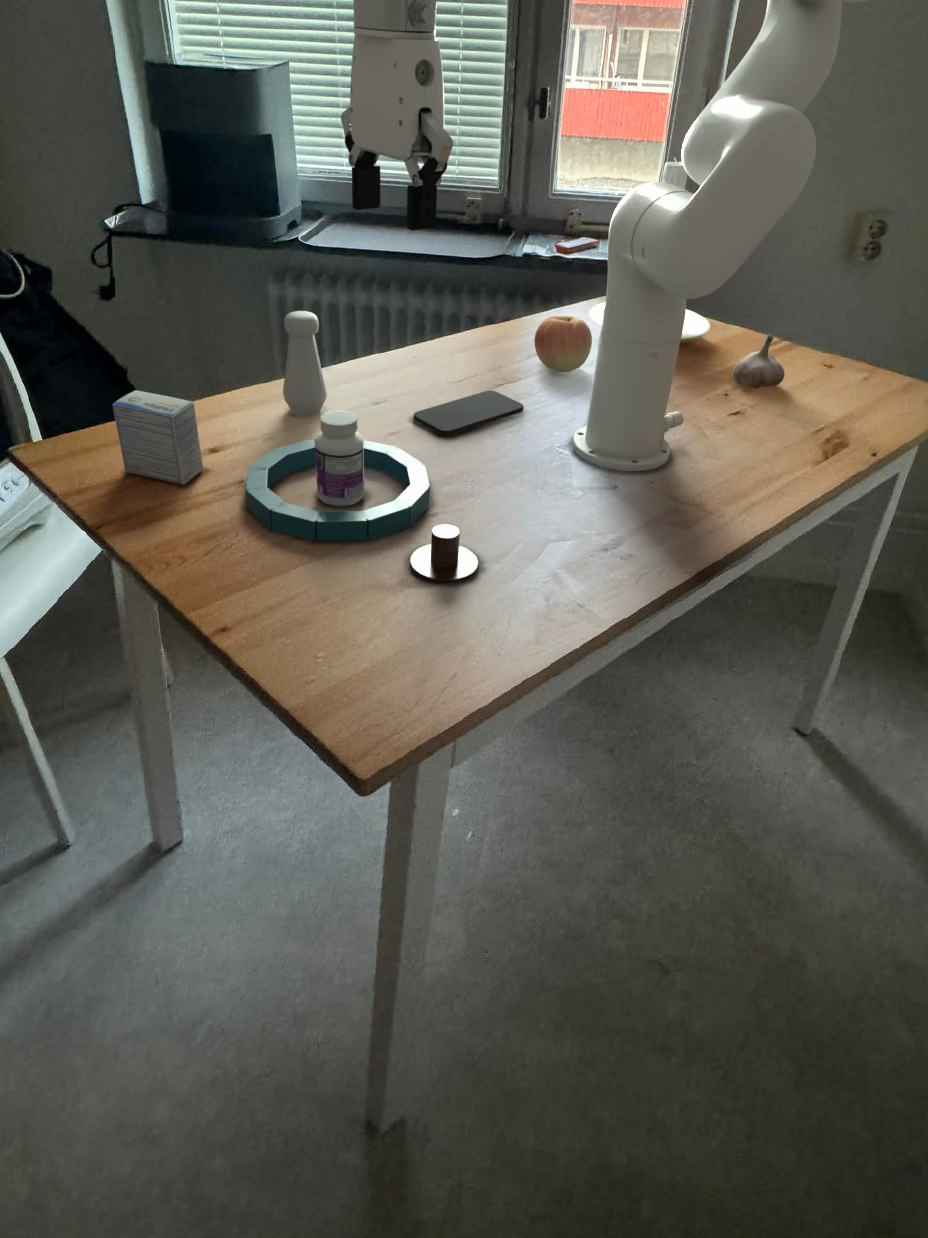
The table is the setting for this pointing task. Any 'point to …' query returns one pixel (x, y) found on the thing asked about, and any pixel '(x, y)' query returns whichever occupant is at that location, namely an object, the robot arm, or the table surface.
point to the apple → (563, 343)
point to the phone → (467, 412)
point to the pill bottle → (339, 459)
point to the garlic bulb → (759, 369)
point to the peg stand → (444, 558)
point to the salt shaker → (303, 366)
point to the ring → (337, 523)
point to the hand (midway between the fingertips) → (392, 217)
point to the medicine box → (158, 436)
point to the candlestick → (693, 321)
